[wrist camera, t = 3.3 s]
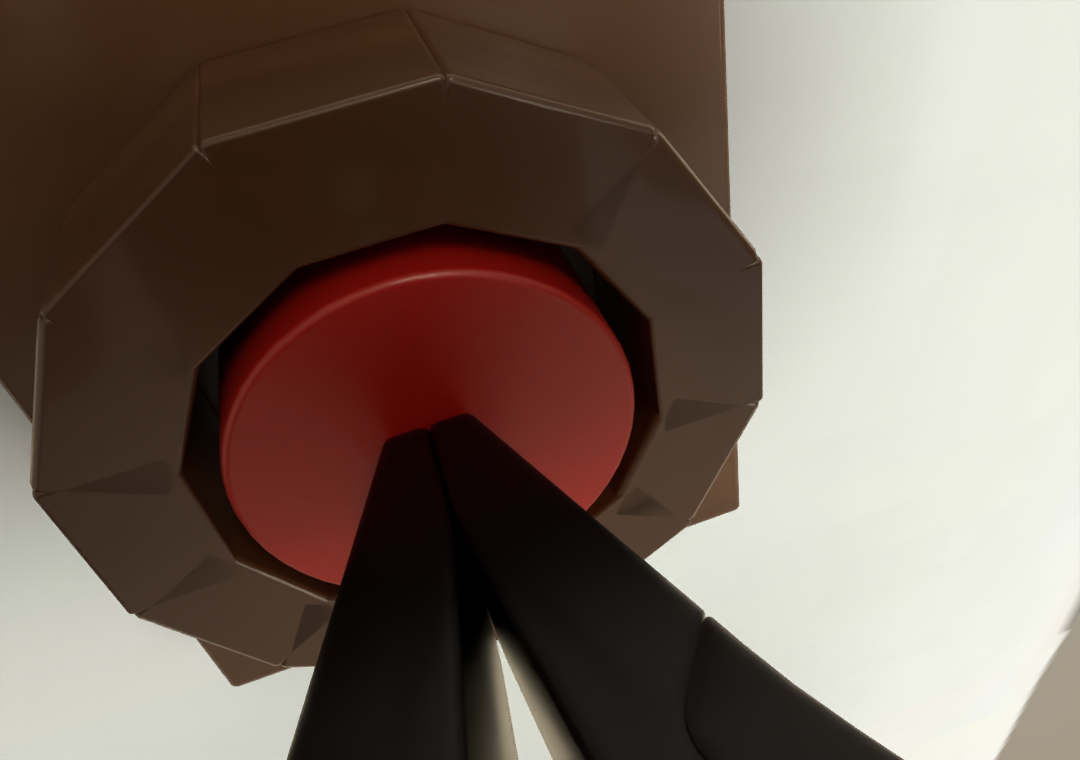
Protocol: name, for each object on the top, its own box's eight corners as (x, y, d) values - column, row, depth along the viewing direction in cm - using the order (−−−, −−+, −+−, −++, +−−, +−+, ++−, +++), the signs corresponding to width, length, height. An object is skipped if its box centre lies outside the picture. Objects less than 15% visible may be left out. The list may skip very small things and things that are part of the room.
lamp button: (601, 421, 11) (654, 518, 10) (296, 523, 11) (308, 640, 9) (552, 133, 9) (614, 213, 7) (148, 252, 8) (136, 359, 7)
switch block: (708, 458, 14) (800, 602, 12) (230, 624, 14) (235, 811, 11) (662, -294, 8) (840, -285, 6) (-259, -72, 7) (-478, 43, 5)
